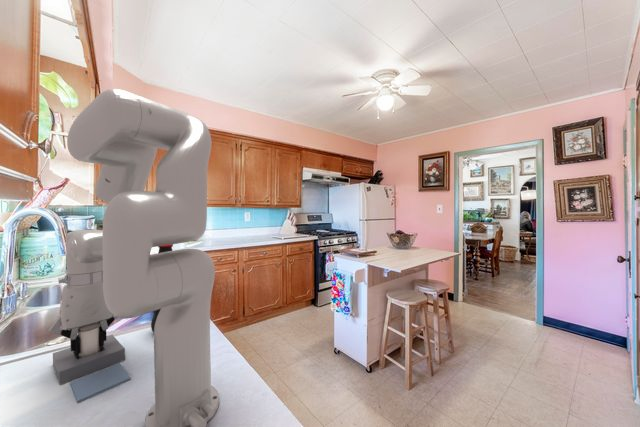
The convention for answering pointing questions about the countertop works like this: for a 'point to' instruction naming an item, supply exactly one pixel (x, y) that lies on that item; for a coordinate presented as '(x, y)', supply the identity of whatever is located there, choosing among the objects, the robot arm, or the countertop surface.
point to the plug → (89, 339)
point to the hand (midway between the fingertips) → (89, 347)
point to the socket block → (87, 360)
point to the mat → (99, 382)
